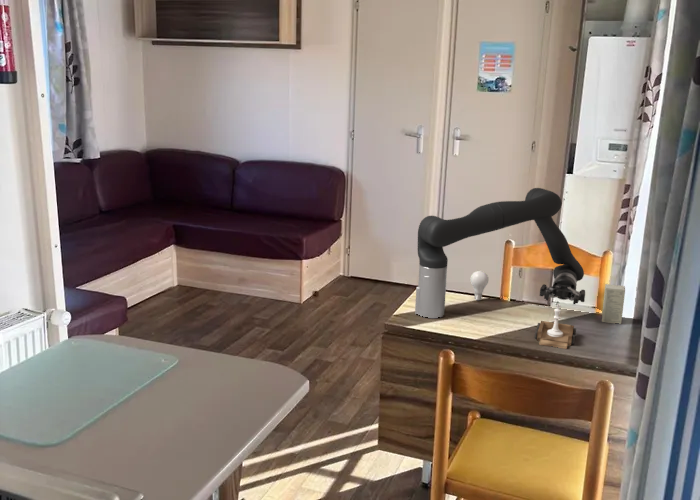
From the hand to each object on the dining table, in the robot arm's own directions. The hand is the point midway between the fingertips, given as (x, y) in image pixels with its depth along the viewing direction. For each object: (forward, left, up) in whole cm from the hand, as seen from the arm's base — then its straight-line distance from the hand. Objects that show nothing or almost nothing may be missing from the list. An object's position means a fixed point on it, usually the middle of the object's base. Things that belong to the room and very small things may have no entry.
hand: (560, 299), depth 220 cm
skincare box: (+16, +12, -9) cm, 22 cm away
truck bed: (0, -13, -9) cm, 15 cm away
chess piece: (0, -11, -8) cm, 14 cm away
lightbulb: (-29, +14, -9) cm, 33 cm away
